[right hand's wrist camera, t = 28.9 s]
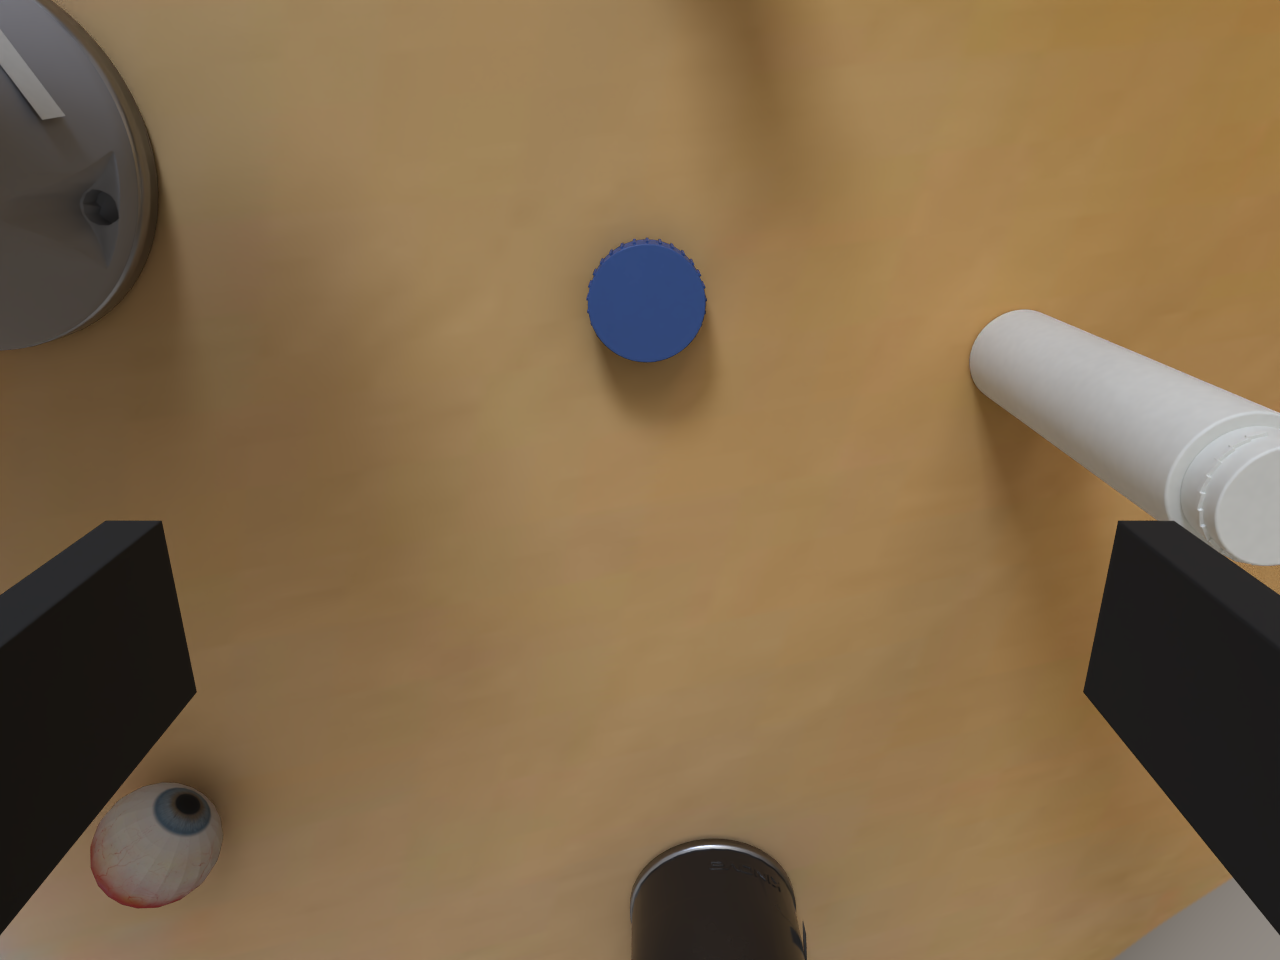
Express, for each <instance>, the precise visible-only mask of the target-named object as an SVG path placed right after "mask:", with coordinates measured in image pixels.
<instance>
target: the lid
mask: <svg viewBox="0 0 1280 960" xmlns="http://www.w3.org/2000/svg"><path fill="white" fill-rule="evenodd" d="M593 275H594V277H593V280H592V281H591V280H590V283H589V286H588V287H589V288H590V289H589V293H588V295H587V300H588V310H587V313H589V317H590V321H591V326H593V328H594V330H595V332H596V334H597V336H598V337H599V339H600V340H601V341H602V342H603V343H604V344H605V346H607V347H608V348H609V349H610V350H611V351H613V352H614V353H616V354H617V355H619V356H621V357H623V358H626V359H629V360H632V361H637V362H656V361H661V360H664V359H667V358H670V357H672V356H674V355H676V354H677V353H679V352H680V351H682V350H683V349H684V348H685V347H687V346H688V345H689V344H690V342H691V341H692V340H693V339H694V338H695V337H696V335H697V333H698V331H699V329H700V327H701V326H702V322H703V318H704V314H706V311H705V305H706V302H705V301H707V298H706V296H705V292H704V288H705V285H704V283H703V281H701V279H700V276H701V274H700V272H699V270H696V268H695V267H694V263H693V260H692V259H690V260H689V259H688V257H687V256H686V255H685V253H684V251H683V250H681V251H680V250H678V249H677V248H675V247H674V246H673V244H672V243H671V244H667V243H664V242H662V241H661V239H658V241H657V240H648V238H646V240H636V239H633V241H632V242H629V243H626V244H624V243H621V246H620V247H618V248H616V249H615V250H612V249H611V250H610V253H609V254H608V255H607V256H606V257H605V259H603V258H602V259H601V261H600V265H599V267H598V268H597V269H595V270H594V272H593Z"/></svg>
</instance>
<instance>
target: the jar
mask: <svg viewBox="0 0 1280 960" xmlns="http://www.w3.org/2000/svg"><path fill="white" fill-rule="evenodd" d="M970 372H971V376H972V378H973V381H974V383H975V384H976V386H977V387H978V389H979V390H980V391H981V392H982V393H983V394H985V395H986V396H987V397H989V398H990V399H991V400H993V401H994V402H995V403H997V404H998V405H1000V406H1001V407H1002V408H1004V409H1005V410H1006V411H1008V412H1009V413H1011V414H1012V415H1013V416H1015V417H1016V418H1017V419H1019V420H1020V421H1022V422H1023V423H1024V424H1026V425H1027V426H1028V427H1030V428H1031V429H1033V430H1034V431H1035V432H1037V433H1038V434H1039V435H1041V436H1042V437H1044V438H1045V439H1046V440H1048V441H1049V442H1050V443H1052V444H1053V445H1055V446H1056V447H1057V448H1059V449H1060V450H1061V451H1063V452H1064V453H1066V454H1067V455H1068V456H1070V457H1071V458H1072V459H1074V460H1075V461H1077V462H1078V463H1079V464H1081V465H1082V466H1083V467H1085V468H1086V469H1088V470H1089V471H1090V472H1092V473H1093V474H1094V475H1096V476H1097V477H1099V478H1100V479H1101V480H1103V481H1104V482H1105V483H1107V484H1108V485H1110V486H1111V487H1112V488H1114V489H1115V490H1116V491H1118V492H1119V493H1121V494H1122V495H1123V496H1125V497H1126V498H1127V499H1129V500H1130V501H1132V502H1133V503H1134V504H1136V505H1137V506H1138V507H1140V508H1141V509H1143V510H1144V511H1145V512H1147V513H1148V514H1149V515H1151V516H1152V517H1154V518H1155V519H1156V520H1158V521H1175V522H1177V523H1178V524H1179V525H1181V526H1182V527H1184V528H1185V529H1187V530H1188V531H1189V532H1191V533H1192V534H1194V535H1195V536H1196V537H1198V538H1199V539H1201V540H1202V541H1204V542H1205V543H1206V544H1208V545H1209V546H1211V547H1212V548H1213V549H1215V550H1216V551H1218V552H1219V553H1221V554H1223V555H1225V556H1227V557H1229V558H1231V559H1233V560H1234V561H1237V562H1243V563H1248V564H1251V565H1259V566H1273V565H1280V413H1278V412H1276V411H1274V410H1271V409H1269V408H1267V407H1264V406H1262V405H1259V404H1257V403H1255V402H1252V401H1250V400H1248V399H1245V398H1243V397H1240V396H1238V395H1236V394H1233V393H1231V392H1229V391H1226V390H1224V389H1221V388H1219V387H1217V386H1214V385H1212V384H1209V383H1207V382H1205V381H1202V380H1200V379H1198V378H1195V377H1193V376H1190V375H1188V374H1186V373H1183V372H1181V371H1179V370H1176V369H1174V368H1171V367H1169V366H1167V365H1164V364H1162V363H1160V362H1157V361H1155V360H1152V359H1150V358H1148V357H1145V356H1143V355H1141V354H1138V353H1136V352H1133V351H1131V350H1129V349H1126V348H1124V347H1122V346H1119V345H1117V344H1114V343H1112V342H1110V341H1107V340H1105V339H1103V338H1100V337H1098V336H1095V335H1093V334H1091V333H1088V332H1086V331H1084V330H1081V329H1079V328H1076V327H1074V326H1072V325H1069V324H1067V323H1064V322H1062V321H1060V320H1057V319H1055V318H1053V317H1050V316H1048V315H1045V314H1043V313H1041V312H1037V311H1034V310H1015V311H1011V312H1008V313H1005V314H1003V315H1001V316H999V317H997V318H995V319H994V320H993V321H991V322H990V323H989V324H988V325H986V327H985V328H984V329H983V330H982V331H981V332H980V334H979V335H978V337H977V338H976V340H975V342H974V345H973V347H972V350H971V354H970Z"/></svg>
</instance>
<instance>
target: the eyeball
mask: <svg viewBox="0 0 1280 960" xmlns="http://www.w3.org/2000/svg"><path fill="white" fill-rule="evenodd" d="M222 839H223V832H222V824H221V818H220V815H219V814H218V812H217V810H216V808H215V806H214V804H213V803H212V802H211V801H210V800H209V799H208V798H207V797H206V796H205V795H204V794H202V793H201V792H199V791H197V790H196V789H194V788H192V787H189V786H186V785H183V784H180V783H168V782H162V783H157V784H153V785H148V786H143V787H141V788H139V789H137V790H135V791H133V792H132V793H130V794H128V795H126V796H124V797H123V798H121V799H120V800H119V801H117V803H116V804H115V805H114V806H113V807H112V808H111V809H110V810H109V812H108V813H107V814H106V815H105V816H104V817H103V818H102V819H101V821H100V823H99V825H98V827H97V830H96V832H95V835H94V838H93V840H92V844H91V870H92V872H93V875H94V877H95V879H96V882H97V884H98V886H99V887H100V888H101V889H102V890H103V891H104V893H105V894H106V895H107V896H108V897H110V898H111V899H113V900H115V901H117V902H118V903H120V904H122V905H126V906H130V907H134V908H156V907H161V906H164V905H167V904H169V903H172V902H175V901H178V900H180V899H182V898H183V897H185V896H186V895H187V894H189V893H190V892H191V891H193V890H194V889H195V888H197V887H198V886H199V885H200V884H201V883H202V882H203V881H204V880H205V879H206V877H207V876H208V874H209V873H210V871H211V870H212V868H213V867H214V865H215V863H216V862H217V859H218V857H219V853H220V849H221V844H222Z"/></svg>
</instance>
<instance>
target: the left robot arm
mask: <svg viewBox="0 0 1280 960" xmlns="http://www.w3.org/2000/svg"><path fill="white" fill-rule="evenodd" d="M630 917H631V923H632V956H631V960H807V951H806V932H805V928H804V923H803V946H802V941H801V936H800V931H799V926H798V921H797V917H796V904H795V897H794V892H793V888H792V884H791V882H790V879H789V877H788V876H787V874H786V872H785V871H784V869H783V868H782V867H781V866H780V865H779V864H778V862H776V861H775V860H774V859H773V858H772V857H771V856H769V855H768V854H766V853H765V852H763V851H761V850H760V849H758V848H755V847H753V846H751V845H748V844H745V843H742V842H738V841H733V840H725V839H703V840H696V841H691V842H687V843H684V844H681V845H678V846H675V847H673V848H671V849H669V850H667V851H665V852H663V853H662V854H660V855H659V856H657V857H656V858H654V859H653V860H652V861H651V862H650V863H649V864H648V865H647V866H646V867H645V868H644V869H643V870H642V872H641V873H640V874H639V876H638V878H637V880H636V882H635V884H634V886H633V889H632V893H631V900H630ZM803 947H804V951H803Z"/></svg>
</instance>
